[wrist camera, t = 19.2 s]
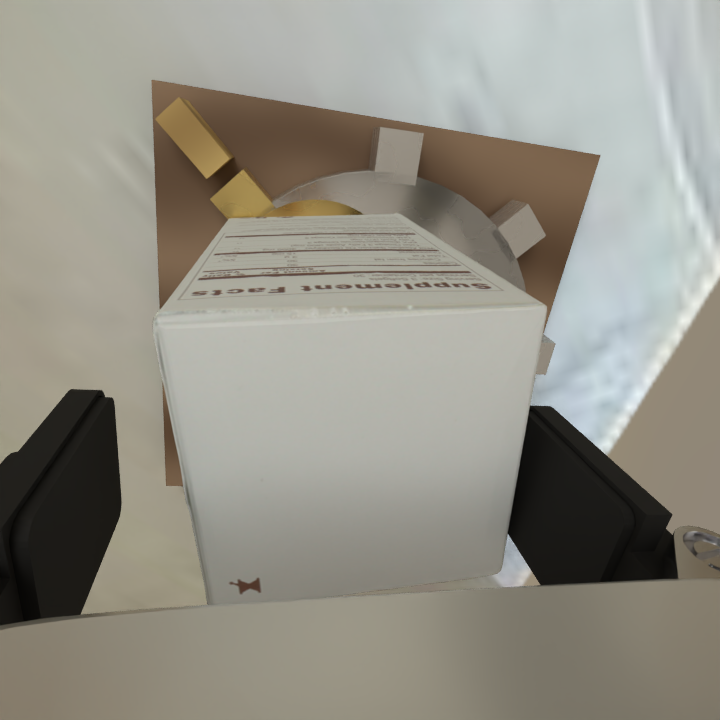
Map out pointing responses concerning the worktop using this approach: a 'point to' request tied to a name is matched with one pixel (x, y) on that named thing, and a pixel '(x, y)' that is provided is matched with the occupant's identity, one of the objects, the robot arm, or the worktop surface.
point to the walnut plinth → (334, 154)
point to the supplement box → (345, 406)
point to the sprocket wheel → (401, 208)
